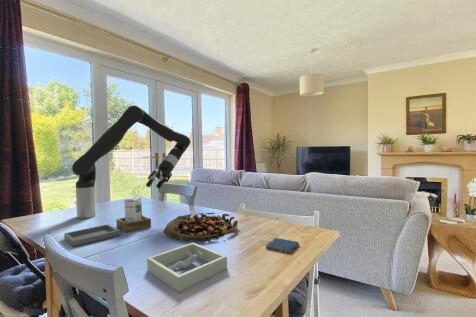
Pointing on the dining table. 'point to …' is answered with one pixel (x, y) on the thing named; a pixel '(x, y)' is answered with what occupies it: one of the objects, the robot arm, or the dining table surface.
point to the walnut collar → (133, 224)
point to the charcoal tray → (91, 235)
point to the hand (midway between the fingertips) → (152, 186)
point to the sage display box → (190, 277)
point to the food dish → (199, 227)
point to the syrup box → (133, 209)
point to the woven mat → (282, 245)
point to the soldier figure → (186, 263)
